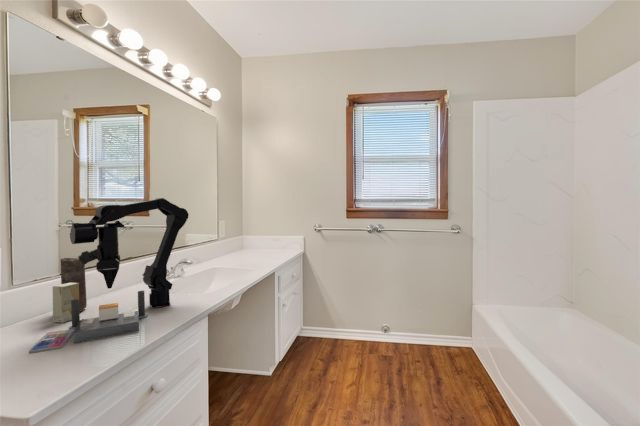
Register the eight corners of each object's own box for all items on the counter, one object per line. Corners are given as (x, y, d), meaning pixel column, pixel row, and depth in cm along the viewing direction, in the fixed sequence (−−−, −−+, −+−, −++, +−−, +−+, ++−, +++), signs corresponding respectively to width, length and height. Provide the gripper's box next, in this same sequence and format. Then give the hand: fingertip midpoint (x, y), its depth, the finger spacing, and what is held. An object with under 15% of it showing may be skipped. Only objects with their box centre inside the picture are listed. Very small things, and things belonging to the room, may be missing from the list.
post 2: (147, 314, 114) (146, 289, 114) (147, 317, 111) (147, 291, 111) (135, 316, 112) (134, 291, 112) (135, 319, 109) (135, 293, 109)
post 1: (83, 325, 105) (82, 297, 105) (82, 328, 102) (81, 300, 102) (69, 327, 103) (68, 299, 103) (68, 331, 100) (67, 302, 100)
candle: (65, 309, 122) (64, 257, 121) (89, 307, 125) (87, 255, 124) (58, 315, 115) (56, 260, 114) (83, 312, 118) (81, 258, 117)
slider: (118, 315, 104) (118, 302, 104) (118, 317, 102) (117, 305, 102) (99, 318, 102) (99, 305, 102) (99, 320, 99) (98, 307, 99)
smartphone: (76, 328, 101) (61, 346, 87) (76, 331, 101) (62, 350, 87) (47, 331, 98) (27, 351, 84) (47, 335, 98) (27, 355, 84)
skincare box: (62, 323, 107) (61, 286, 107) (52, 322, 108) (51, 286, 108) (80, 316, 113) (79, 282, 113) (70, 316, 114) (69, 281, 114)
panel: (138, 319, 109) (137, 308, 109) (139, 331, 99) (138, 318, 99) (79, 329, 101) (79, 317, 101) (74, 343, 90) (73, 330, 90)
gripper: (83, 240, 116) (84, 283, 116) (75, 245, 100) (77, 295, 100) (119, 238, 121) (121, 279, 122) (118, 242, 105) (119, 289, 106)
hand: (110, 285), depth 112 cm, fingers open, 9 cm apart
